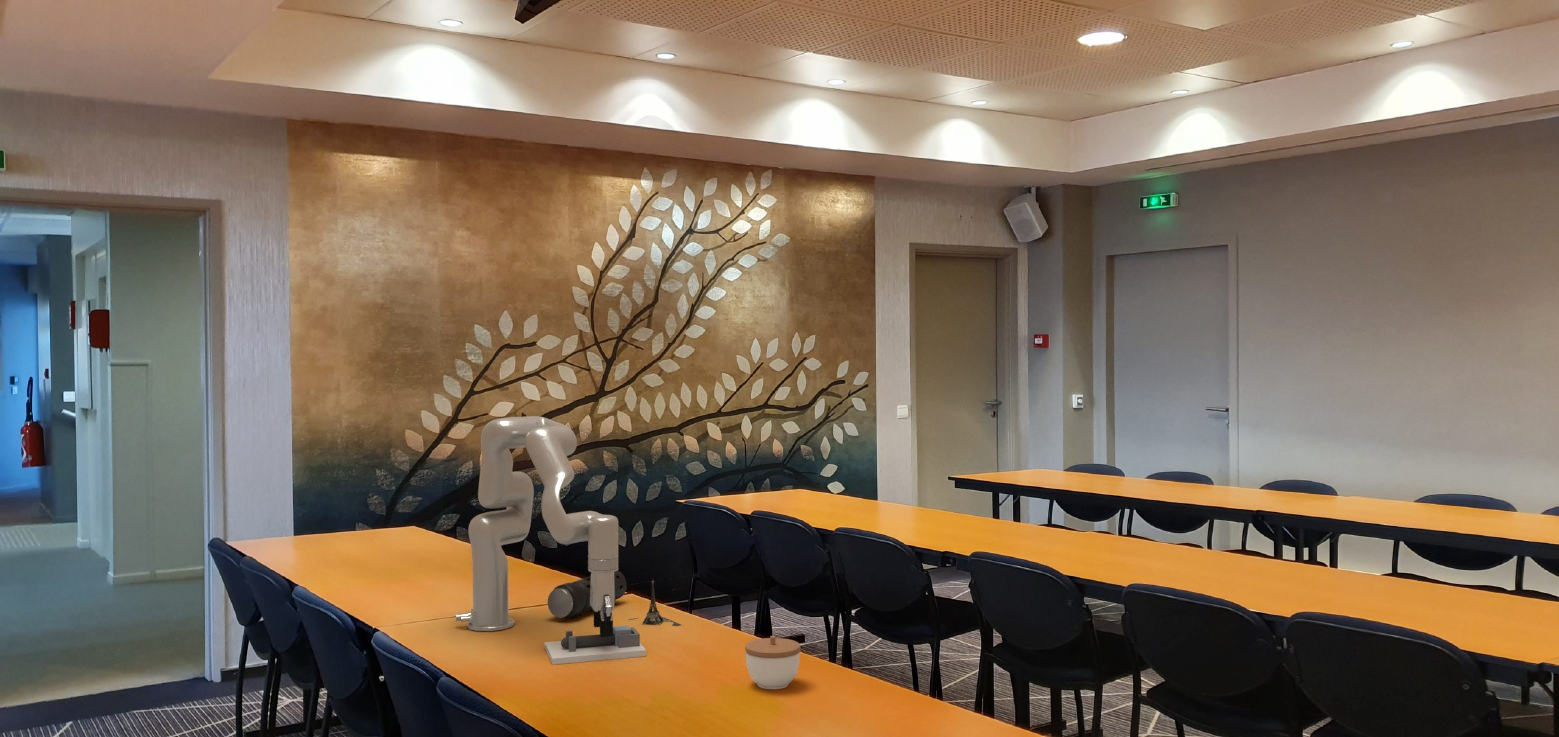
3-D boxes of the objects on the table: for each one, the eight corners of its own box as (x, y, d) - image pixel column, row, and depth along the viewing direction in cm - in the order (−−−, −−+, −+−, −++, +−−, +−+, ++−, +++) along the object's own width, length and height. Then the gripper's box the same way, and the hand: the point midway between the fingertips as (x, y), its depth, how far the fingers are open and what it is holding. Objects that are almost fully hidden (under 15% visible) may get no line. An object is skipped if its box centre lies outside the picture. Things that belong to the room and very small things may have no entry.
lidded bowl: (781, 696, 242) (781, 646, 242) (734, 687, 248) (734, 638, 248) (810, 681, 252) (810, 633, 252) (764, 673, 259) (764, 626, 259)
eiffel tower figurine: (683, 627, 305) (683, 579, 305) (650, 632, 300) (650, 583, 300) (658, 616, 318) (658, 570, 318) (626, 621, 312) (626, 574, 312)
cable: (562, 650, 274) (561, 634, 274) (560, 646, 278) (559, 630, 278) (631, 644, 279) (631, 629, 279) (628, 640, 283) (628, 625, 283)
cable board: (552, 664, 267) (552, 643, 267) (544, 647, 282) (544, 628, 282) (646, 655, 275) (645, 635, 274) (633, 640, 290) (633, 620, 290)
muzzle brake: (627, 603, 332) (627, 569, 332) (573, 624, 307) (572, 587, 307) (601, 600, 336) (601, 567, 336) (545, 621, 311) (544, 584, 311)
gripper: (583, 558, 286) (583, 624, 286) (593, 571, 270) (593, 641, 270) (612, 557, 288) (611, 621, 289) (624, 570, 272) (624, 638, 272)
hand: (603, 631), depth 279 cm, fingers open, 9 cm apart
